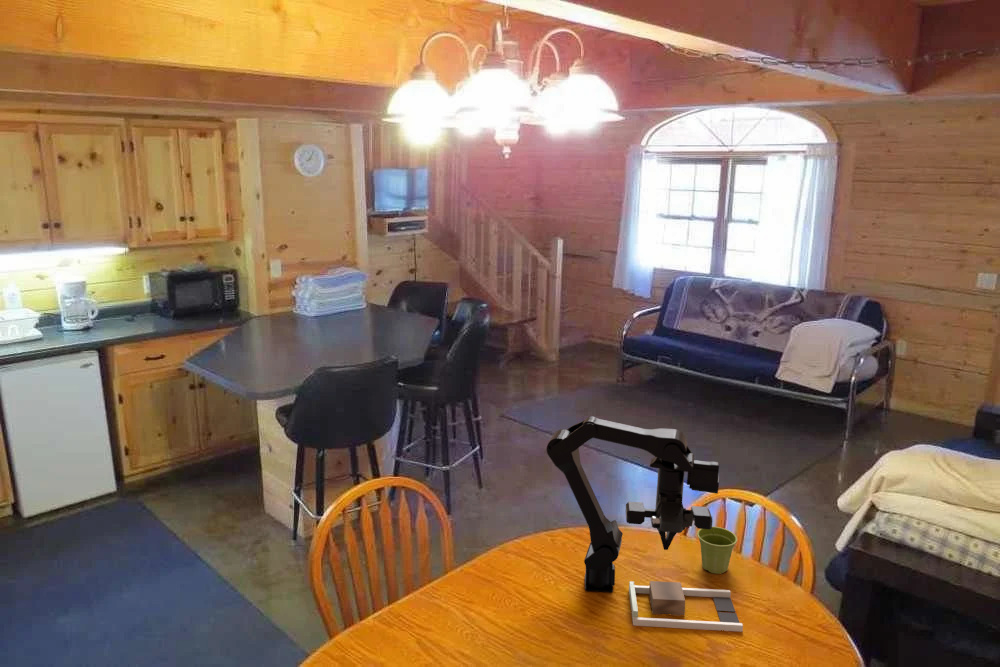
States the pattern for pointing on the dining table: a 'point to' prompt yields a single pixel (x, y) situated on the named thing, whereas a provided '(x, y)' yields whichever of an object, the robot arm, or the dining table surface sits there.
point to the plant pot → (716, 548)
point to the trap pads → (725, 609)
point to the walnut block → (667, 598)
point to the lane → (681, 623)
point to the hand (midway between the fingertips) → (665, 549)
